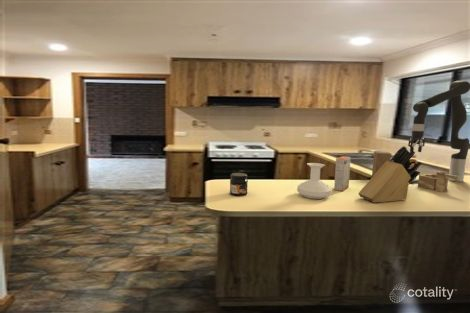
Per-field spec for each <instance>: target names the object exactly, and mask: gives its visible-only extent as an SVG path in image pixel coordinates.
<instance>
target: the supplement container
mask: <svg viewBox="0 0 470 313" xmlns="http://www.w3.org/2000/svg"><path fill="white" fill-rule="evenodd" d="M229 194H230V195H231V196H233V195H234V196H233V197H245V196H247V195H248V174H247V173H243V172H233V173H231V174H230V179H229Z"/></svg>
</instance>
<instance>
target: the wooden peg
mask: <svg viewBox="0 0 470 313" xmlns="http://www.w3.org/2000/svg"><path fill="white" fill-rule="evenodd" d="M440 172H441V173H442V172H443V171H440ZM436 176H437V173H436ZM444 178H448V179H453V180H458V179H459V176H455V175H450V174H445V177H444Z"/></svg>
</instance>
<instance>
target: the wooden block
mask: <svg viewBox="0 0 470 313" xmlns="http://www.w3.org/2000/svg"><path fill="white" fill-rule="evenodd" d="M391 158H392V153H390V152H389V151H376V150H375V151H374V152H373V161H372V170H371V171H372V172H371V177H373V176H374V175H375V174H376V172H377V171H378V170H379V169H380V168H381V167H382V166H383V164H384V163H385V162H386V161H390V160H391Z"/></svg>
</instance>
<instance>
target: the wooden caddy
mask: <svg viewBox="0 0 470 313" xmlns="http://www.w3.org/2000/svg"><path fill="white" fill-rule="evenodd" d="M441 172H442V173H441ZM436 174H437V176H436ZM436 174H435V173H429V174H427V173H426V174H419V175H418V178H419V181H418V184H417V187H419V188H423V189H427V190H431V191H437V192H441V193H443V192H448V185H449V180H448V178H444V177H445V174H449V172H446V171H436Z"/></svg>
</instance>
